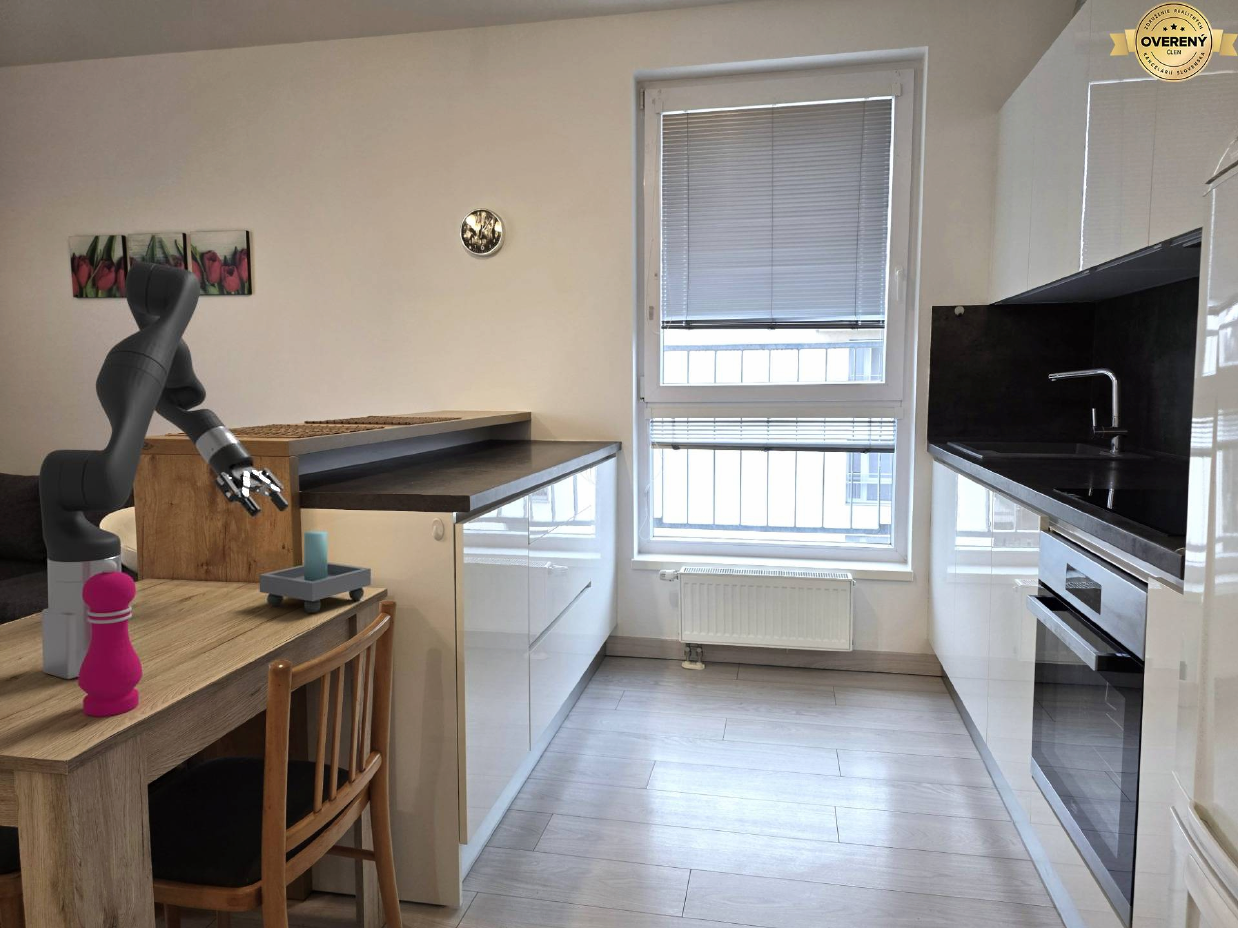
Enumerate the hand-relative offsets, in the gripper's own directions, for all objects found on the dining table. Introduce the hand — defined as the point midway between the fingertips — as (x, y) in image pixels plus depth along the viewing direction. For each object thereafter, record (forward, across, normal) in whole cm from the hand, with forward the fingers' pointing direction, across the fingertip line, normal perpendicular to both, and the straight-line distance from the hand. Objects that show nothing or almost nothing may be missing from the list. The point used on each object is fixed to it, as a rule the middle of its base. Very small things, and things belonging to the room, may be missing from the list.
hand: (271, 511), depth 164 cm
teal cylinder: (+17, 0, +2) cm, 17 cm away
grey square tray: (+20, 0, +5) cm, 21 cm away
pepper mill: (+27, -56, -1) cm, 62 cm away
